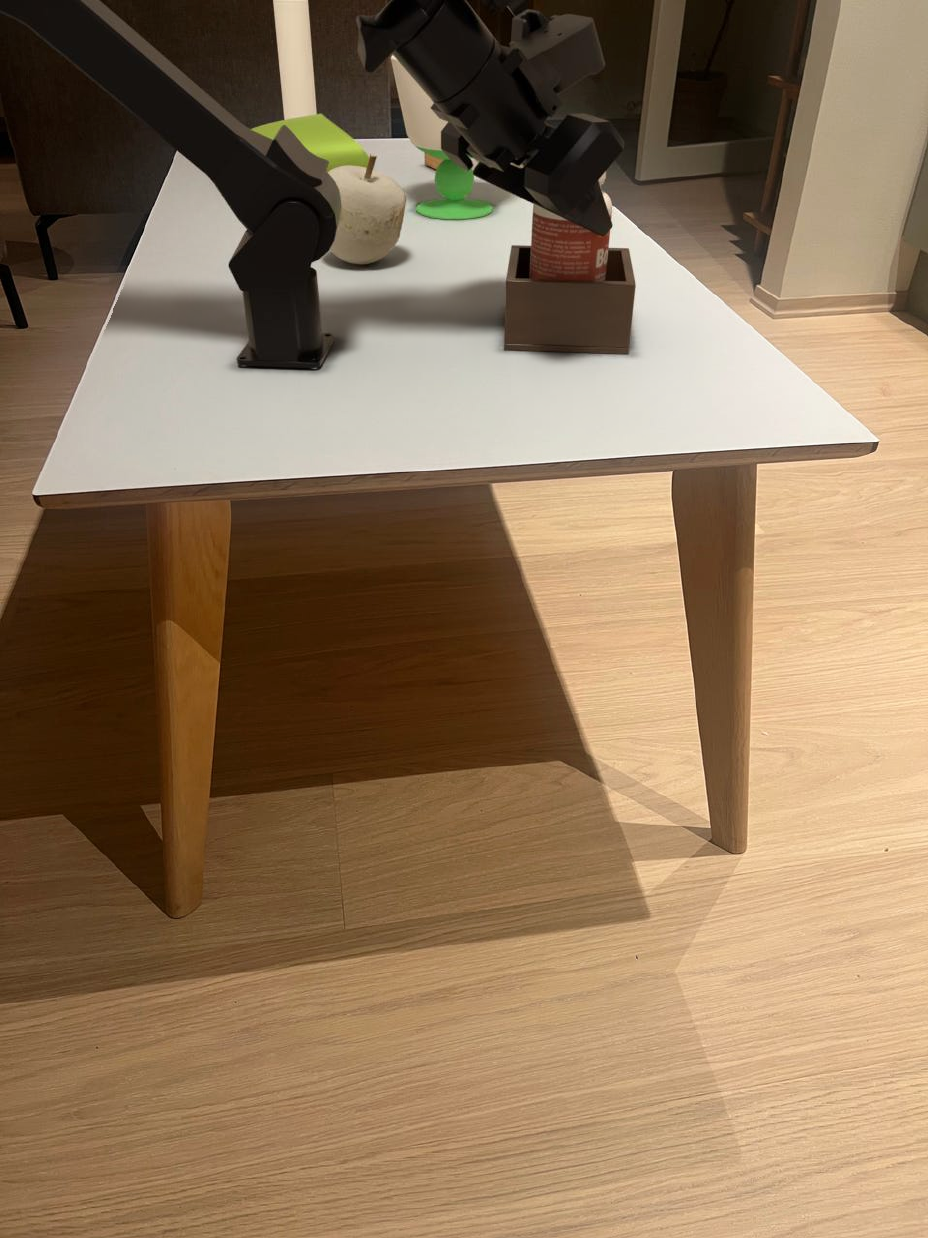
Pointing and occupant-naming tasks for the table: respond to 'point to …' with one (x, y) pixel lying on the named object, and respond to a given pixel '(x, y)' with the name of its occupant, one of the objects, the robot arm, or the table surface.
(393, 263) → the table surface
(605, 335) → the brown rectangular open box
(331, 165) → the green curved piece
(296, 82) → the candle
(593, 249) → the pill bottle
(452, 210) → the cup
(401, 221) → the decorative object
